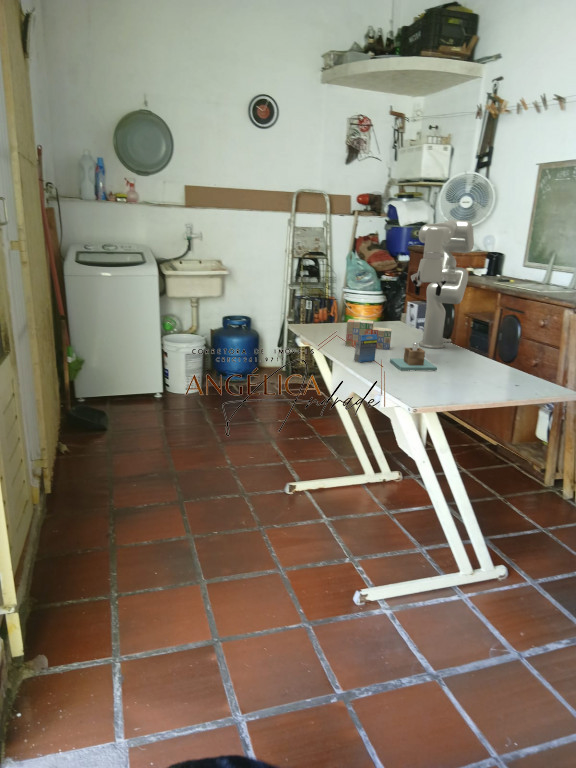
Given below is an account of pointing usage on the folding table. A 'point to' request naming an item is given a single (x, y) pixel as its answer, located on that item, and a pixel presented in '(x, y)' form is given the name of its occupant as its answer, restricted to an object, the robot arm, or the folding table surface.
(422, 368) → the teal flat board
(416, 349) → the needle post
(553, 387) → the folding table surface
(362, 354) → the label tape box
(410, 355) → the hollow wooden block
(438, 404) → the folding table surface
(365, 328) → the stack of blocks
